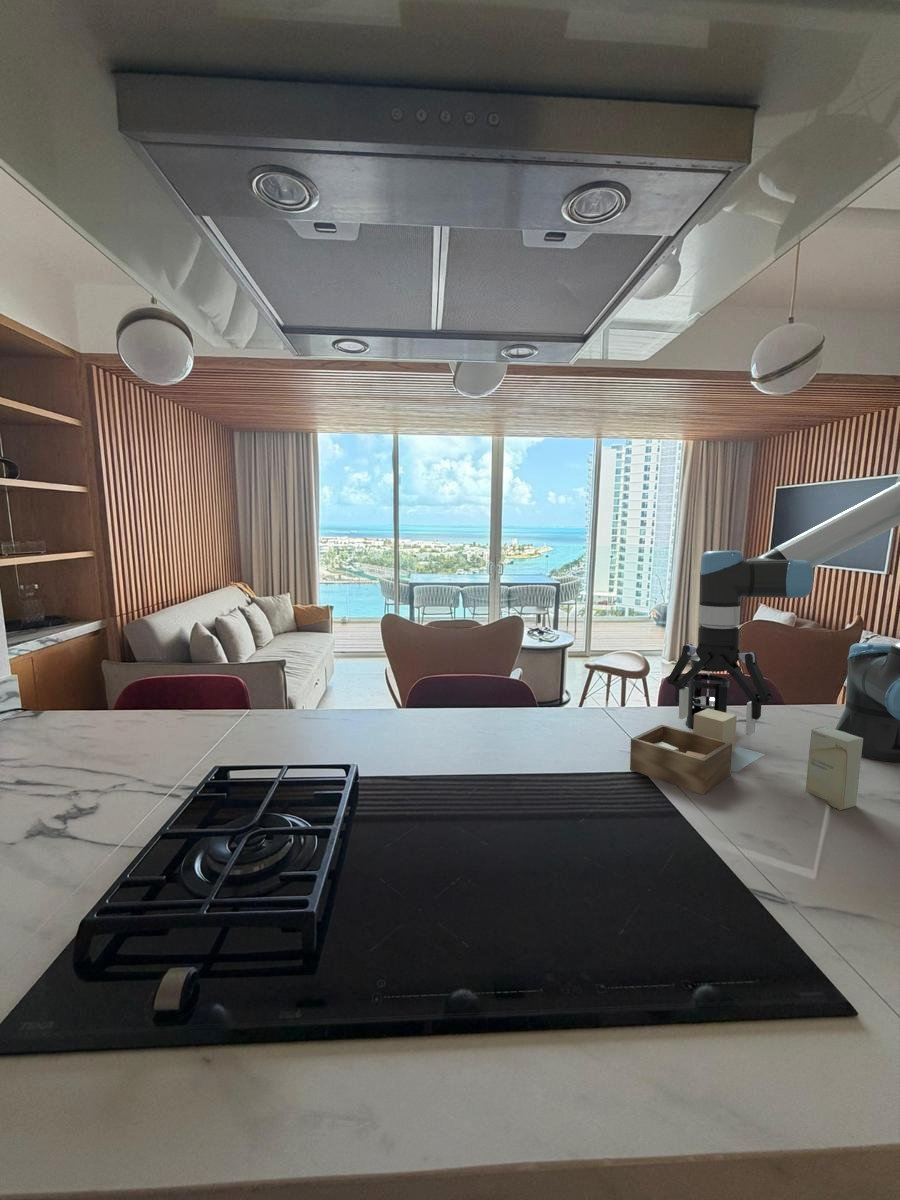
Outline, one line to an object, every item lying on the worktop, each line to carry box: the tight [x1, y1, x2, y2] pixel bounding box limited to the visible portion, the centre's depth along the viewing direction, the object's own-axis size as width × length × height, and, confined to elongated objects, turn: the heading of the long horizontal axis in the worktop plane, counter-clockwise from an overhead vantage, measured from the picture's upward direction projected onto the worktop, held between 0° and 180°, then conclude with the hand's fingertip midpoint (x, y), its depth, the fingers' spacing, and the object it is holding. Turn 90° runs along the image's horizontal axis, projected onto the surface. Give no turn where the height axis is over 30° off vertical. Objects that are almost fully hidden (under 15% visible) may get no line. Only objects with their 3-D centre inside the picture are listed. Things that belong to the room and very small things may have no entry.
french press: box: [685, 654, 730, 730], centre depth 125 cm, size 12×9×23 cm
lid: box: [692, 708, 765, 773], centre depth 110 cm, size 15×13×9 cm
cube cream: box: [655, 742, 679, 751], centre depth 103 cm, size 4×4×4 cm
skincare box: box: [805, 725, 863, 811], centre depth 90 cm, size 6×4×12 cm
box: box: [629, 724, 732, 796], centre depth 100 cm, size 14×12×7 cm
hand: (715, 725), depth 109 cm, fingers open, 13 cm apart
